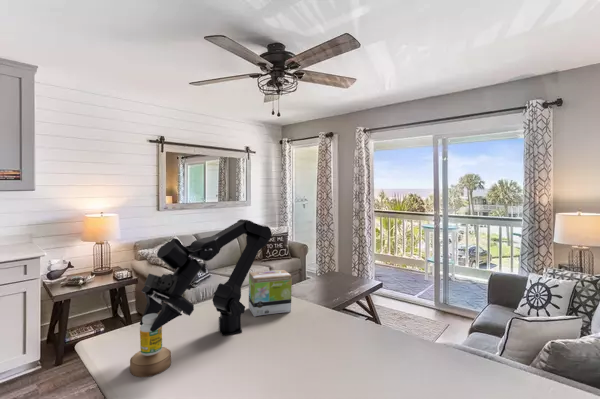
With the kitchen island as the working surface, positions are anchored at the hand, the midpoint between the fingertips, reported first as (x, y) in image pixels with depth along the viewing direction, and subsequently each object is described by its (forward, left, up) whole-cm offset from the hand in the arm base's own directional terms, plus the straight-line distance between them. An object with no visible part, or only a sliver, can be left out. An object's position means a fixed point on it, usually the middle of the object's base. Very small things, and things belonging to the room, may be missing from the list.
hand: (146, 328), depth 84 cm
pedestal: (-1, -1, -11) cm, 11 cm away
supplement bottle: (-1, -1, -7) cm, 7 cm away
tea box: (-43, -26, -11) cm, 51 cm away
